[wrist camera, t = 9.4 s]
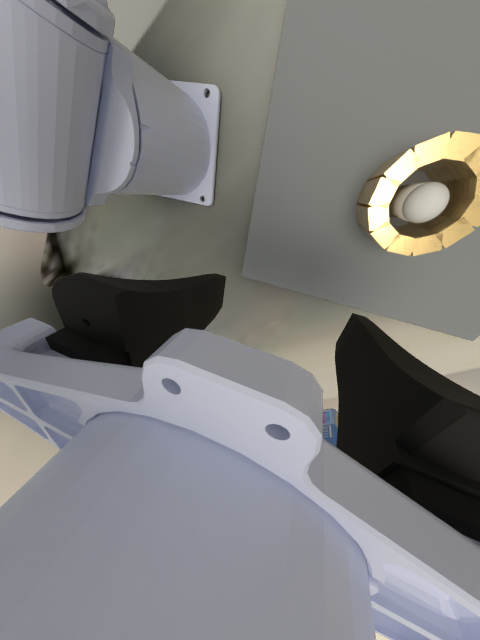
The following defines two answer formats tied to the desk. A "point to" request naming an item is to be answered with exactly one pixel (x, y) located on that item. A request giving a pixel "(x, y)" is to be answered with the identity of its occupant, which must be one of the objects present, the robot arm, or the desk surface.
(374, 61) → the grey square plate
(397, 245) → the wooden link ring
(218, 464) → the robot arm
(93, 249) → the desk surface
